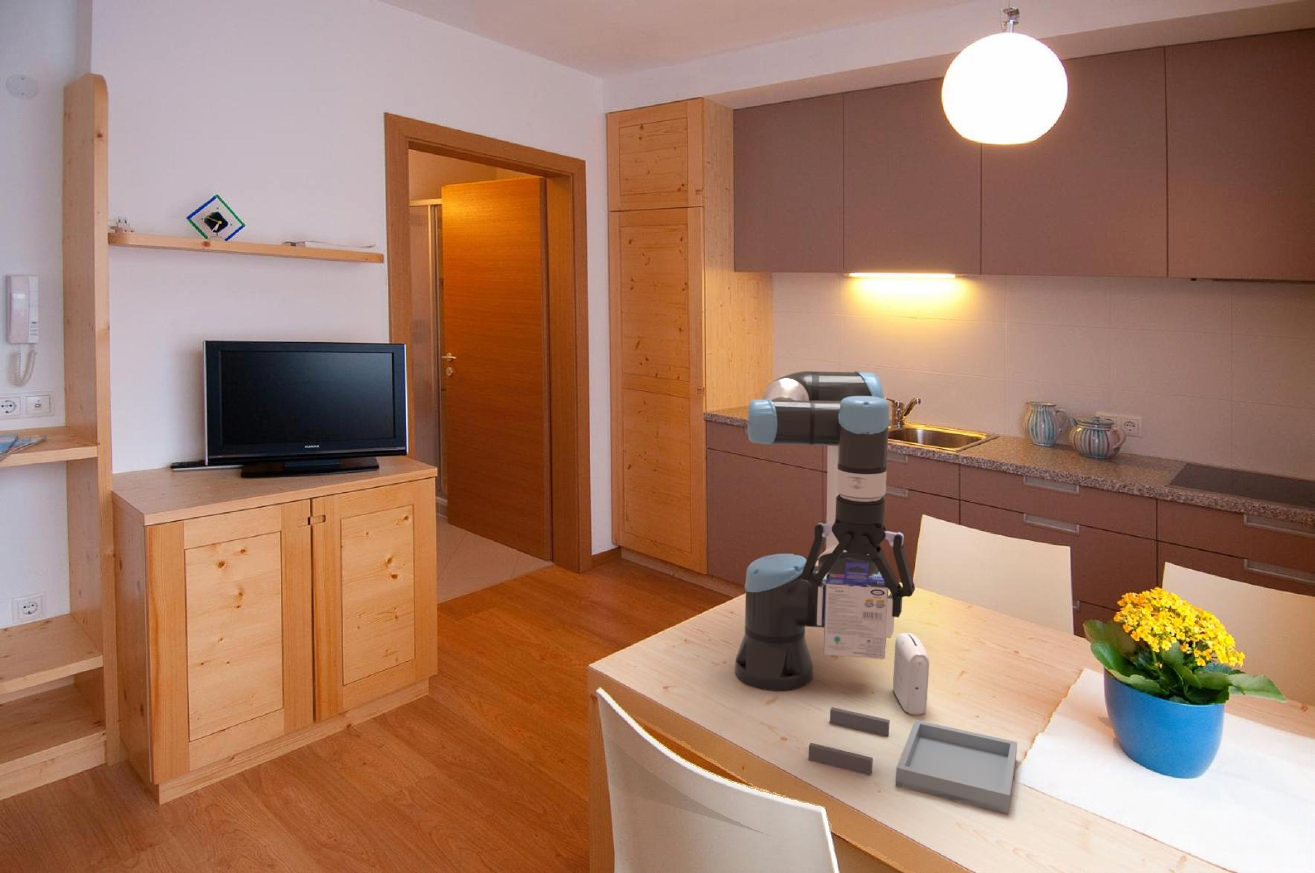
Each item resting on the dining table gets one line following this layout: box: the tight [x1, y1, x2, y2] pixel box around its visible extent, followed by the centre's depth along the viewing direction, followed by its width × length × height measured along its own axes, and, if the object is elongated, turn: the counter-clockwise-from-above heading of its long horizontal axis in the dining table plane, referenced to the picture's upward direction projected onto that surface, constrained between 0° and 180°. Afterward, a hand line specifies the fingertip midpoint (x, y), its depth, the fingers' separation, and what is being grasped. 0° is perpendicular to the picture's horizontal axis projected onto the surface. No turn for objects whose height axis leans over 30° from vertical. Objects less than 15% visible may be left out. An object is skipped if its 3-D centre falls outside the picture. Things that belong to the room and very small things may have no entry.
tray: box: [895, 719, 1018, 814], centre depth 133 cm, size 16×16×3 cm
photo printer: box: [892, 632, 930, 716], centre depth 155 cm, size 10×4×12 cm, turn 179°
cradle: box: [807, 706, 891, 776], centre depth 141 cm, size 10×14×2 cm
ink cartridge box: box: [822, 562, 889, 660], centre depth 137 cm, size 10×6×14 cm, turn 79°
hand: (854, 628), depth 137 cm, fingers closed on ink cartridge box, 10 cm apart
